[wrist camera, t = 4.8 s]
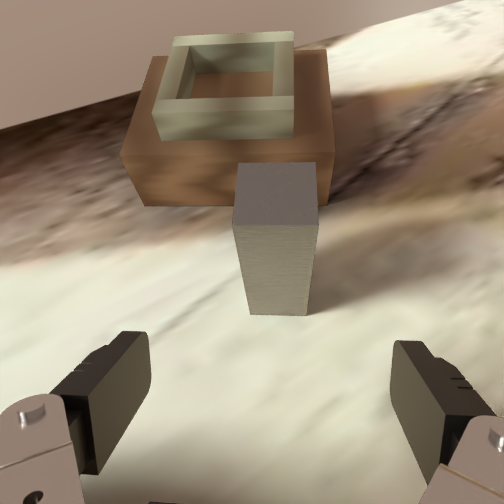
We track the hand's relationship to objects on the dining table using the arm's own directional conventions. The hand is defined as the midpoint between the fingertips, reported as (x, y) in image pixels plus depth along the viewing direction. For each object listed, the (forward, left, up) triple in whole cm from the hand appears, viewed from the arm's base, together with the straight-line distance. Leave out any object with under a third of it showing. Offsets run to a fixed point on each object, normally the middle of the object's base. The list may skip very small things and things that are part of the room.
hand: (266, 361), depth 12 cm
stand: (-4, +23, -13) cm, 27 cm away
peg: (0, +9, -13) cm, 15 cm away
